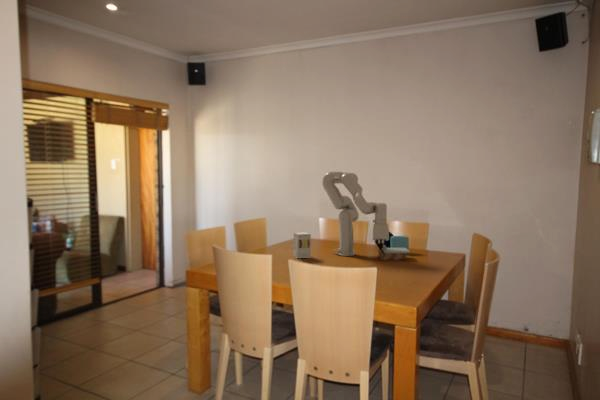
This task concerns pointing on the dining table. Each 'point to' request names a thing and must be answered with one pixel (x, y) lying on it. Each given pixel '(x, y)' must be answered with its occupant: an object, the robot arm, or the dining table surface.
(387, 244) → the decorative orb
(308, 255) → the supplement box
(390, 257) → the box
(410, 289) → the dining table surface
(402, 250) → the cover plate
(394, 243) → the data package
